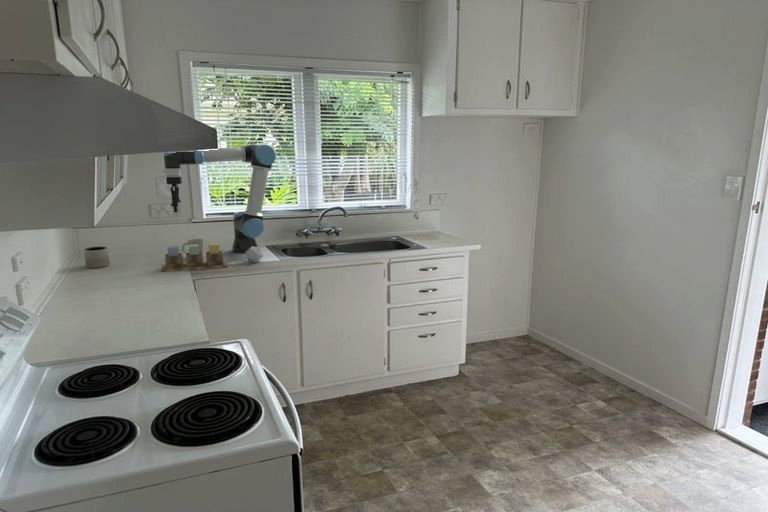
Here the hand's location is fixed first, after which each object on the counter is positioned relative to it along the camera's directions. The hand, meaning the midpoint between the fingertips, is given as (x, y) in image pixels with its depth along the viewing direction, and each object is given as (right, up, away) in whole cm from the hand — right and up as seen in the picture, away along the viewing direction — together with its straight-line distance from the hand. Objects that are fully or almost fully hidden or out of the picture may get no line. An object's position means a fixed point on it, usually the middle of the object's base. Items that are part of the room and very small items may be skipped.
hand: (177, 216), depth 273 cm
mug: (+2, -22, +17) cm, 28 cm away
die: (+39, -24, +10) cm, 47 cm away
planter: (-40, -27, -5) cm, 48 cm away
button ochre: (+20, -22, -1) cm, 30 cm away
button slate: (+2, -23, -8) cm, 25 cm away
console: (+11, -27, -4) cm, 29 cm away
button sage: (+11, -23, -5) cm, 25 cm away
